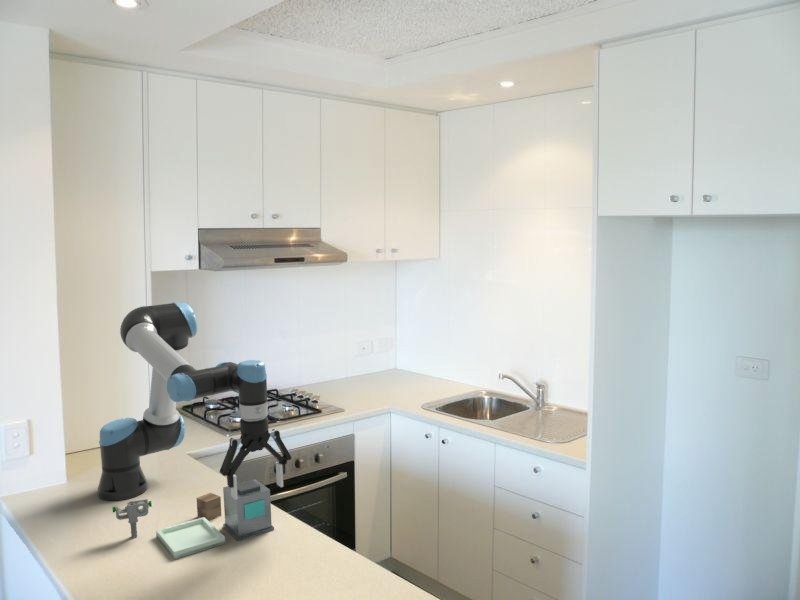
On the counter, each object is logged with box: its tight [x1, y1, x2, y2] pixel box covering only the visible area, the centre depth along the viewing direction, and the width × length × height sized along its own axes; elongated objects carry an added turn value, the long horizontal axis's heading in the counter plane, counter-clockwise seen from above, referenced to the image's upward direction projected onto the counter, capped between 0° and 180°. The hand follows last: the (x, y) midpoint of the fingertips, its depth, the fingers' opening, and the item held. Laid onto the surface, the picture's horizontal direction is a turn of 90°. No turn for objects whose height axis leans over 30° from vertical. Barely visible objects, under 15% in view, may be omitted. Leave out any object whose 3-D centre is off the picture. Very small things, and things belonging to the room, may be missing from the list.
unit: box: [222, 479, 275, 542], centre depth 204 cm, size 11×11×13 cm
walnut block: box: [196, 492, 222, 522], centre depth 213 cm, size 5×5×6 cm
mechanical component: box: [112, 498, 152, 539], centre depth 200 cm, size 3×10×10 cm, turn 111°
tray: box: [155, 517, 226, 560], centre depth 197 cm, size 16×14×2 cm
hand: (257, 491), depth 196 cm, fingers open, 13 cm apart
